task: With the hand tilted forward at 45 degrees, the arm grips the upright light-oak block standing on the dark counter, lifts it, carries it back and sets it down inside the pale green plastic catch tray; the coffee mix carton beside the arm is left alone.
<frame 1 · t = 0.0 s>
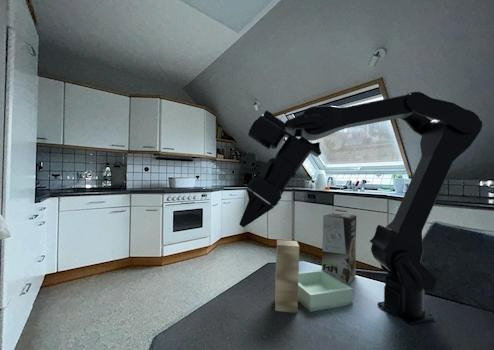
hand: (245, 222, 47), 15 cm above the kitchen island, tool tilted 35°, fingers open, 9 cm apart
catch tray: (316, 295, 47), on the kitchen island
coffee box: (339, 278, 56), on the kitchen island
oak block: (285, 305, 42), on the kitchen island
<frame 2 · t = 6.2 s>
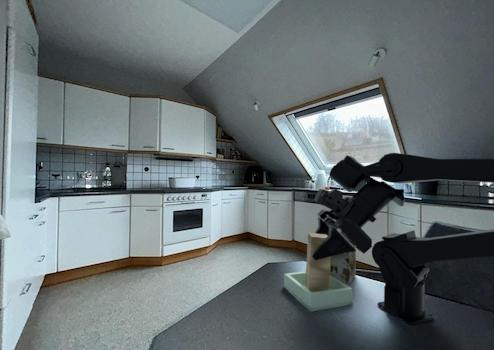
hand: (310, 253, 48), 9 cm above the kitchen island, tool tilted 45°, fingers open, 6 cm apart
coffee box: (339, 278, 56), on the kitchen island, touching gripper
oak block: (316, 292, 47), point 1 cm above the kitchen island, touching catch tray
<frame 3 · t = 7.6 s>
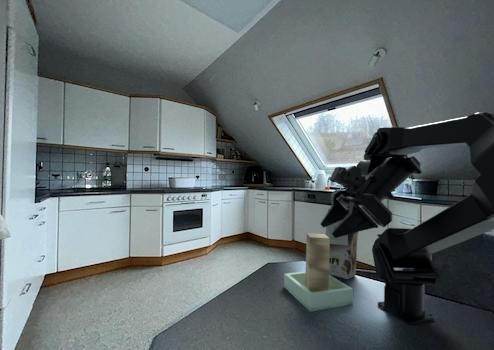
hand: (327, 230, 48), 14 cm above the kitchen island, tool tilted 45°, fingers open, 9 cm apart
coffee box: (339, 275, 56), point 1 cm above the kitchen island
everything else where it was.
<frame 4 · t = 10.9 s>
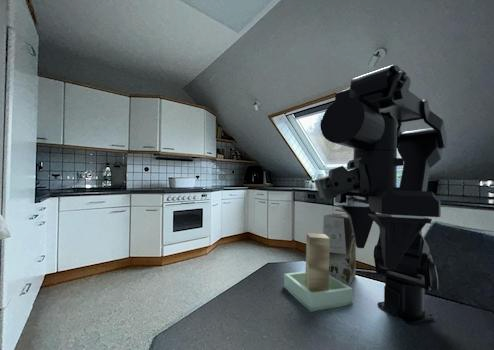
hand: (372, 256, 33), 13 cm above the kitchen island, tool pointing down, fingers open, 9 cm apart
at the end: oak block inside the target area on the catch tray (0.0 cm from its centre), point 0.6 cm above the catch tray's base; the gripper is holding nothing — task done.
